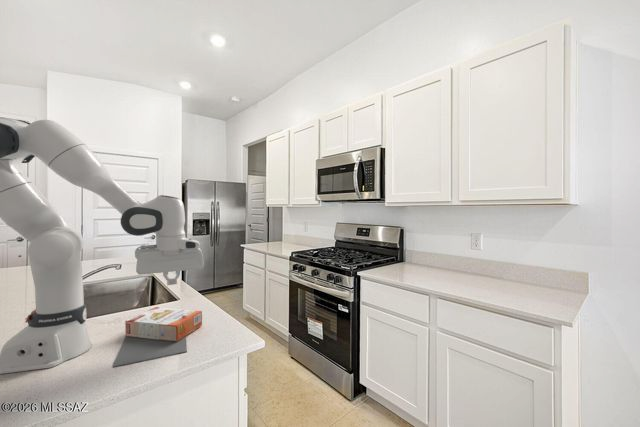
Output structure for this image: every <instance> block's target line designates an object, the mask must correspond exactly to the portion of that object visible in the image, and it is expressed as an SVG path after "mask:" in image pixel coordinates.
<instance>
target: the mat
mask: <svg viewBox="0 0 640 427" xmlns="http://www.w3.org/2000/svg"><path fill="white" fill-rule="evenodd" d="M187 345H188V344H187V335H186V336H185V337H183V338H182V339H180V340H179V341H177V342H176V341H166V340H157V339H148V338H138V337H130V336H126V335H125V338H124V340H123V342H122V344H121V346H120V349H119V351H118V354H117V355H116V359H115V361H114V364H113V366H112V368H118V367H122V366H127V365H132V364H136V363H141V362H147V361H150V360H156V359H160V358H165V357H169V356H174V355H175V356H176V355H179V354H184V353H187V352H188V350H187V349H188V348H187Z"/></svg>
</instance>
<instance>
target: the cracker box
mask: <svg viewBox="0 0 640 427" xmlns="http://www.w3.org/2000/svg"><path fill="white" fill-rule="evenodd" d="M124 325H125V330H124V331H125V337H126V336H130V337H138V338H148V339H157V340H166V341H176V342H177V341H179V340H180V339H182V338H183V337H185V336H186V337H187V336H188V335H190V334H192V332H194V331H196V330H197V329H199V328H200V327H202V326H203V311H202V310H194V309H192V310H191V309H182V308H169V307H159V306H158V307H157V306H156V307H153V308H150V309H149V310H147V311H144V312H142V313H140V314H137V315H134V316H133V317H131V318H128V319H125V323H124Z"/></svg>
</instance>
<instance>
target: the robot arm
mask: <svg viewBox="0 0 640 427" xmlns="http://www.w3.org/2000/svg"><path fill="white" fill-rule="evenodd" d="M34 158H37V159H39V160H40V161H41V162H42V163H43V164H44V165H45V166H46V167H48V168H49V169H51V171H53V172H54V173H55V174H56V175H58V176H59V177H60V178H62V179H64V180H66V181H67V182H69V183H70V184H72V185H74V186H77V187H80V188H82V189H85V190H88V191H90V192H92V193H94V194H96V195H98V196H99V197H100V198H102V199H103V200H104V201H105V202H106V203H108V204H109V205H110V206H112V207H113V208H114V209H115V210H116V211H117V212H119V213H120V215H121V216H120V226H121V228H122V229H123V231H125V233H127V234H129V235H131V236H135V237H141V236H147V235H148V234H153V233H154V234H155V244H148V245H146V244H143V245H140V246H138V247H137V248H136V249H135V250H134V257H135V259H136V267H135V268H136V270H135V271H136V272H135V273H136V274H137V275H150V274H161V273H163V274H162V276H163V277H164V279H165V280H166V285H167V286H172V285H173V286H174V285H177V284H178V279H179V277H180V276H181V271H190V270H201V269H202V270H203V268H204V267H205V260H204V255H203V252H202V250H201V248H200V244H201V243H200V241H198V240H197V239H192V238H187V237H186V232H185V224H186V213H185V205H184V202H183V200H181V199H180V198H178V197H175V196H172V195H171V196H170V195H161V194H160V195H158V196H156V197H155V198H153V199H150V200H149V201H147V202H144V203H141V202H139V201H137V200H136V199H135V198H134V197H133V196H132V195H131V194H130V193H128V192H127V191H126V190H125V189H124V188H123V187H122V186H121V185H120V184H119V183H118V182H116V180H115V179H114V177H112V175H111V174H110V173H109V171H108V169H107V168H106V166H105V165H104V164H103V163H102V161H101V160H100V158H98V156H97V155H96V154H95V153H94V152H93V151H92V149H90V148H89V146H88V145H86V144H85V143H84V142H83V140H81V139H80V138H78V137H77V136H76V135H75V134H74V133H72V132H71V131H69V130H68V129H67V128H65V127H64V126H62V125H61V124H59V123H58V122H57V121H54V120H50V119H39V120H35V121H33V122H28V121H25V120H21V119H12V118H5V117H0V219H1V221H3V223H5V225H6V226H8V227H10V228H12V229H13V230H14V231H15V232H17V233H18V234H19V235H20V236H22V237H23V238H24V239H25V240H27V242H29V244H28V247H27V253H28V258H29V264H30V270H31V276H32V279H33V284H34V296H35V297H34V298H35V309H34V310H32V311H31V312H30V314H28V315H27V317H26V318H25V319H24V320H25V324H26V323H27V325H26V326H25V327H24V328H23V329H22V330H20V331H18V332H17V333H16V334H15V335H13V336H12V337H10V339H8V340H7V341H6V342H5V343H4V345H3V346H2V348H1V350H0V375H2V374H9V373H16V372H25V371H26V372H27V371H34V370H40V369H49V368H53V367H56V366H58V365H60V364H61V363H64V362H65V361H68V360H71V359H73V358H76V357H78V356H80V355H81V354H84V353H86V352H87V351H89V349H91V347H92V341H91V339H90V337H89V333H88V329H87V324H86V320H87V306H86V303H85V301H84V300H85V299H84V279H83V278H84V277H83V272H82V265H81V264H82V263H81V252H82V250H83V248H84V245H85V244H84V237H83V236H82V234H81V233H80V232H79V231H78V229H76V228H75V227H74V226H73V224H71V222H70V221H69V220H67V218H66V217H65V216H63V214H62V213H61V212H59V210H58V209H57V208H55V207H54V206H53V204H52V203H51V202H50V201H49V200H48V199H47V197H46V196H45V195H44V194H43V193H42V191H40V190H39V188H38V187H37V186H36V185H35V183H33V181H32V180H31V179H30V178H29V177H28V176H27V175H26V173H25V172H24V171H23V169H22V164H28V163H30V162H31V161H32V160H33V159H34ZM171 272H175V275H176V276H174V277H173V278H170V277H169V276H168V275H169V273H171Z"/></svg>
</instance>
